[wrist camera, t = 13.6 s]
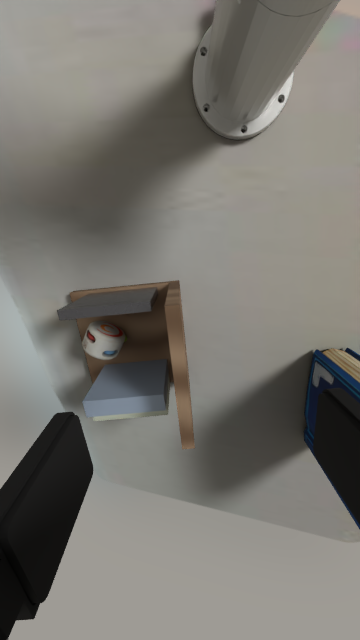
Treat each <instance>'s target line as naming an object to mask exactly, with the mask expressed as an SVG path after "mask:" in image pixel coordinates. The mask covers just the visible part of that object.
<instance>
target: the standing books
mask: <svg viewBox="0 0 360 640" xmlns="http://www.w3.org/2000/svg"><path fill="white" fill-rule="evenodd" d="M169 390H170V379H169V371H168V363H167V359H161V360H151V361H140V362H129V363H119V364H108V365H105V366H104V367H103V369H102V370H101V372H100V374H99V375H98V377H97V379H96V380H95V382H94V383H93V385H92V387H91V388H90V390H89V392H88V393H87V395H86V397H85V398H84V400H83V401H82V402H83V406H84V409H85V413H86V416H87V417H93V419H94V421H102V420H113V419H124V418H136V417H147V416H158V415H168V406H169Z"/></svg>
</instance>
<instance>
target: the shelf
mask: <svg viewBox="0 0 360 640" xmlns="http://www.w3.org/2000/svg"><path fill="white" fill-rule="evenodd" d="M149 287H157V288H158V296H157V299H156V301H155V304H154V306H153V309H152V311H149V312H139V313H129V314H119V315H109V316H99V317H89V318H78V319H76V320H77V324H78V328H79V332H80V336H81V340H82V342H83V339H84V336H85V334H86V331H87V329H88V326H89V325H90V323H92V322H94V321H106V322H110V323H112V324H114V325H116V326H118V327H119V328H121V329H122V330H123V332H124V333H125V335H126V337H127V340H126V341H125V342H124V343H123V345H122V347H121V349H120V351H119V354H118V355H117V356H116V357H115V358H113V359H110V360H101V359H97V358H94V357H92V356H90V355H89V354H88V353H86V352H85V350H84V352H85V356H86V360H87V364H88V368H89V372H90V375H91V379H92V383H94V382H95V380H96V379H97V377H98V375H99V374H100V372H101V370H102V369H103V367H104V366H105V365H108V364H119V363H129V362H140V361H151V360H161V359H167V363H168V371H169V379H170V382H174V386H175V394H176V402H177V410H178V418H179V426H180V434H181V442H182V449H192V448H195V445H194V433H193V421H192V409H191V397H190V385H189V373H188V363H187V353H186V344H185V334H184V324H183V314H182V304H181V294H180V284H179V281H169V282H159V283H149V284H139V285H130V286H120V287H110V288H100V289H90V290H80V291H73V292H71V293H70V297H71V301H72V302H74V301H76V300H78V299H80V298H81V297H83V296H85V295H87V294H90V293H99V292H109V291H119V290H129V289H139V288H149Z"/></svg>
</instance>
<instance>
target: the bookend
mask: <svg viewBox="0 0 360 640" xmlns="http://www.w3.org/2000/svg"><path fill="white" fill-rule="evenodd" d="M157 296H158V288H157V287H149V288H139V289H129V290H119V291H109V292H99V293H90V294H87V295H85V296H83V297H81V298H80V299H78V300H76V301H74V302H72V303H70V304H69V305H67V306H65V307H63V308H61V309H59V310H57V312H58V316H59V319H60V320H68V319H78V318H89V317H99V316H109V315H119V314H129V313H139V312H149V311H152V309H153V306H154V304H155V301H156V299H157Z"/></svg>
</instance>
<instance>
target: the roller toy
mask: <svg viewBox="0 0 360 640" xmlns="http://www.w3.org/2000/svg"><path fill="white" fill-rule="evenodd" d="M126 340H127V337H126V335H125V333H124V332H123V330H122V329H121V328H119V327H118V326H116V325H114V324H112V323H110V322H106V321H94V322H92V323H90V325H89V326H88V329H87V331H86V334H85V336H84V339H83V342H82V346H83V349H84V350H85V352H86V353H88V354H89V355H90V356H92V357H94V358H97V359H101V360H110V359H113V358H115V357H116V356H117V355H118V354H119V351H120V349H121V347H122V345H123V343H124V342H125V341H126Z"/></svg>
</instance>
